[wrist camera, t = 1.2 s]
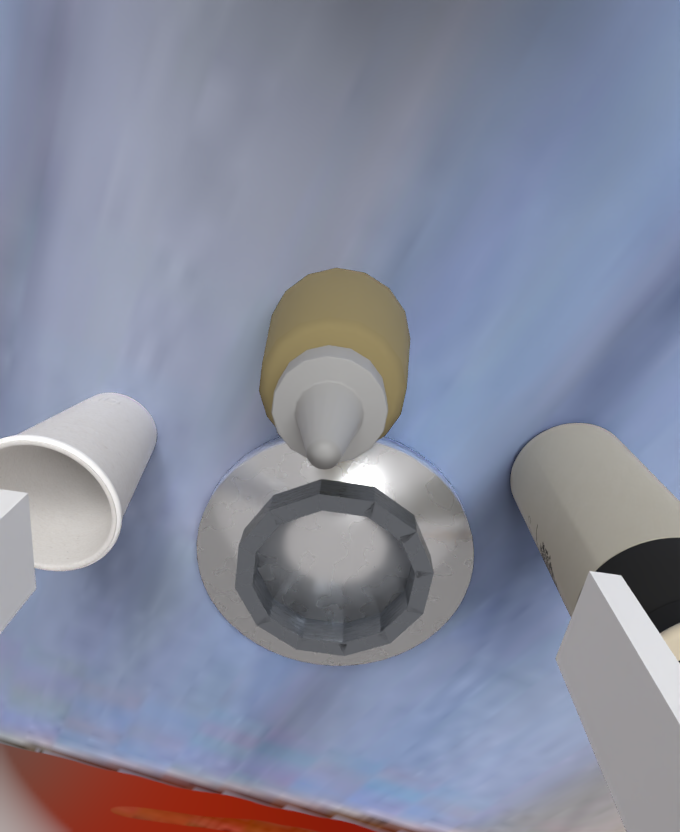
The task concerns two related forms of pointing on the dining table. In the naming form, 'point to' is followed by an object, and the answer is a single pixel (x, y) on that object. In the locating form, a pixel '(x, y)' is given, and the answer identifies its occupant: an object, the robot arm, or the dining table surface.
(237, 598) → the rosette plate
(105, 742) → the dining table surface
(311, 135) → the dining table surface
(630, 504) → the travel mug
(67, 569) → the dixie cup
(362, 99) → the dining table surface
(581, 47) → the dining table surface
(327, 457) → the squeeze bottle
